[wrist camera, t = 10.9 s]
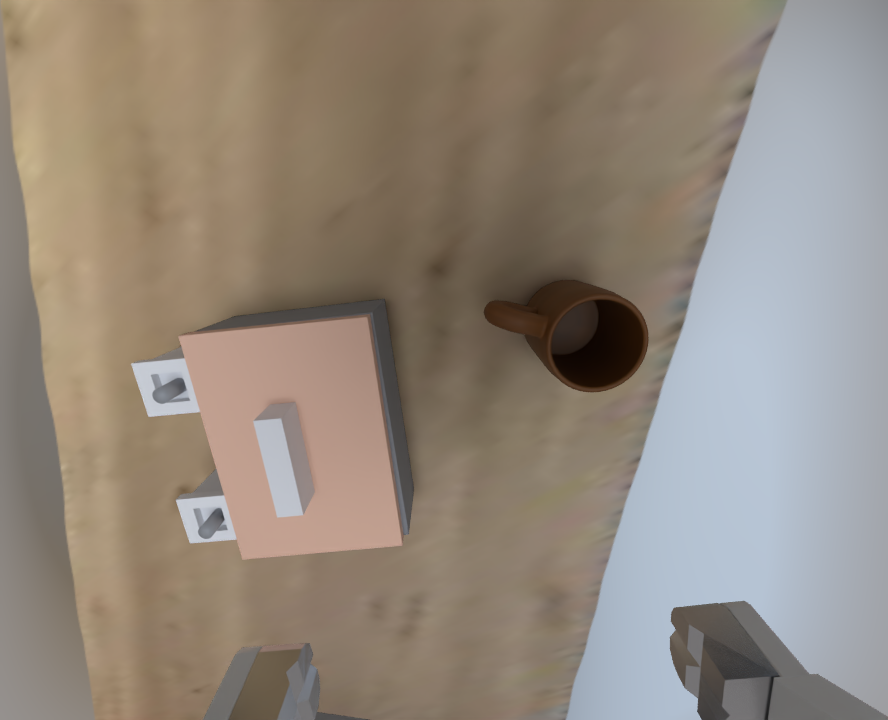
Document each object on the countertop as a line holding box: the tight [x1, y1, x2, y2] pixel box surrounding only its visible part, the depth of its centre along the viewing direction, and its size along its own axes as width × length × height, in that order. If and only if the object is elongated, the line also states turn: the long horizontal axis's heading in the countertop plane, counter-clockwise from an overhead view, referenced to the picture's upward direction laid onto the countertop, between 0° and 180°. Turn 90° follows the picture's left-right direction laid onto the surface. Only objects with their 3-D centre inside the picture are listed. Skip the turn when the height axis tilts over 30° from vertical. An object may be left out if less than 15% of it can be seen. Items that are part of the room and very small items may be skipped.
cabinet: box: [152, 299, 414, 539], centre depth 37 cm, size 20×18×9 cm
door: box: [132, 314, 404, 559], centre depth 33 cm, size 20×18×4 cm
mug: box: [484, 280, 648, 392], centre depth 34 cm, size 12×8×9 cm, turn 75°
